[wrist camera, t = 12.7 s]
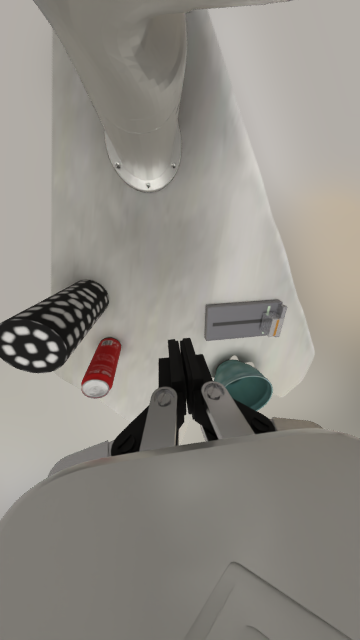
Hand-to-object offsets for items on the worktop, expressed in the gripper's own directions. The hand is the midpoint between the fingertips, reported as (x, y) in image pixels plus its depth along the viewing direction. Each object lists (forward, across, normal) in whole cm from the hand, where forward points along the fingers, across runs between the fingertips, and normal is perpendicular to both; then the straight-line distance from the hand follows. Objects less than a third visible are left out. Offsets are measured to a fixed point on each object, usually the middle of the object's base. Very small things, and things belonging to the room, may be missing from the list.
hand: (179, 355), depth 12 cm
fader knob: (+27, -27, +13) cm, 40 cm away
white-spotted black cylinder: (+29, +18, +4) cm, 35 cm away
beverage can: (+29, +16, +18) cm, 38 cm away
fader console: (+29, -20, +13) cm, 38 cm away
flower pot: (+29, -19, +32) cm, 47 cm away
